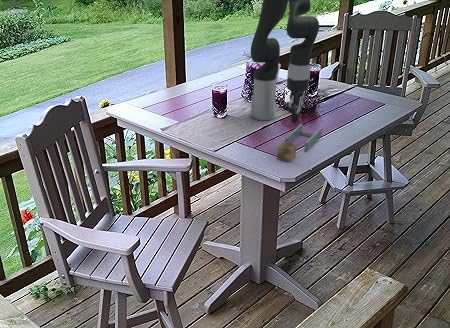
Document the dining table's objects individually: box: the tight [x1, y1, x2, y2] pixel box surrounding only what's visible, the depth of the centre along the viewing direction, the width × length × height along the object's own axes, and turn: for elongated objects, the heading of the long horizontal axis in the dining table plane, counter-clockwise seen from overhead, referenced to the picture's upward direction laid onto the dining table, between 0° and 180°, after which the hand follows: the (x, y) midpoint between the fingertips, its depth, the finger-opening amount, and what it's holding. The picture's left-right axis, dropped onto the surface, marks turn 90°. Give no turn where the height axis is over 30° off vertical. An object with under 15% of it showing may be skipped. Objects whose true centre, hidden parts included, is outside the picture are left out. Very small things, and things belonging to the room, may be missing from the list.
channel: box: [284, 123, 323, 153], centre depth 197 cm, size 9×16×4 cm, turn 152°
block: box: [276, 141, 297, 163], centre depth 184 cm, size 5×5×5 cm
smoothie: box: [276, 63, 282, 84], centre depth 259 cm, size 6×6×14 cm
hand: (294, 122), depth 185 cm, fingers closed
